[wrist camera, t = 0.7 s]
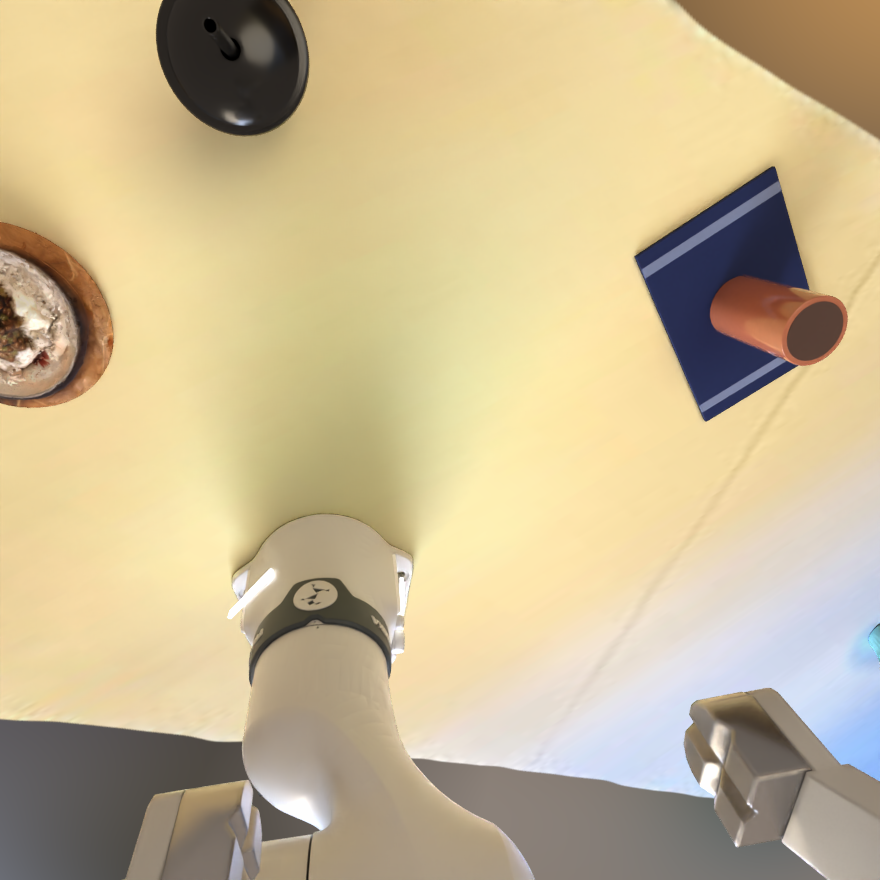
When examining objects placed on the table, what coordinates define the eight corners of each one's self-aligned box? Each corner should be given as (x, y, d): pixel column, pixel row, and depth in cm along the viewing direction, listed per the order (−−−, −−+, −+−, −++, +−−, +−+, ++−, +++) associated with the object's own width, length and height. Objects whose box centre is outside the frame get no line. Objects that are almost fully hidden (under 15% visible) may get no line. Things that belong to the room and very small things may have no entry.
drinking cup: (279, 3, 40) (233, -133, 22) (336, 115, 44) (335, 75, 26) (186, 58, 41) (67, -32, 23) (249, 165, 44) (190, 160, 26)
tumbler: (758, 333, 57) (837, 363, 48) (704, 336, 56) (774, 368, 47) (771, 273, 54) (857, 294, 45) (715, 276, 54) (792, 297, 45)
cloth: (823, 347, 59) (826, 348, 59) (704, 420, 61) (706, 421, 60) (772, 166, 51) (775, 166, 50) (634, 256, 52) (636, 256, 52)
